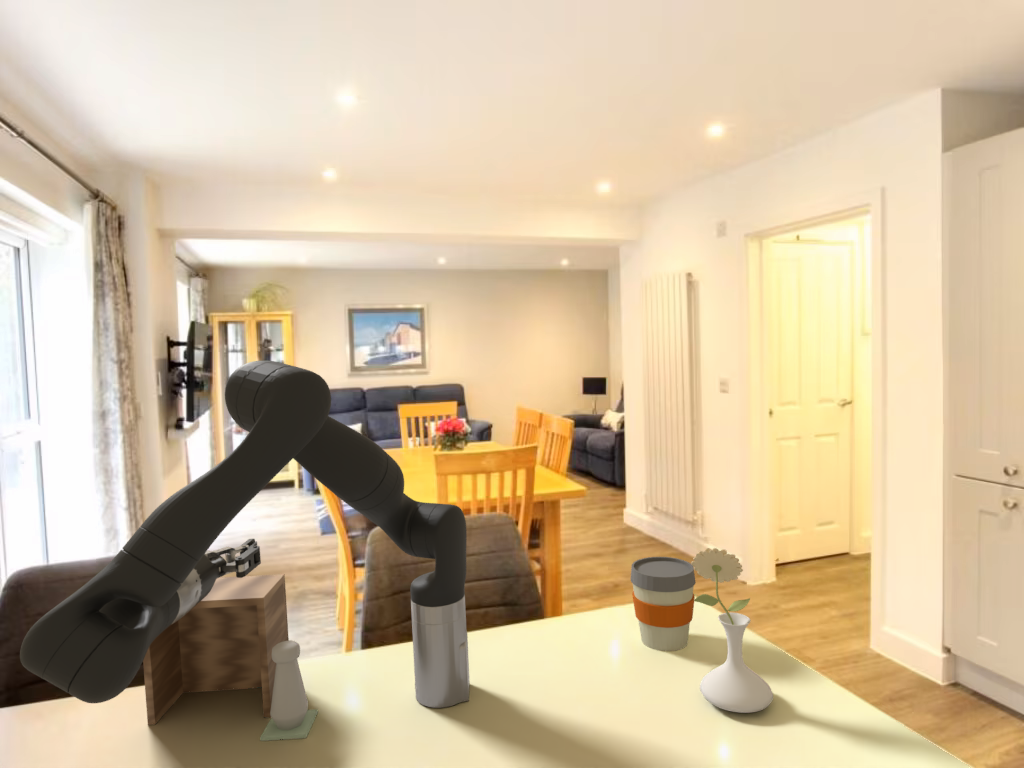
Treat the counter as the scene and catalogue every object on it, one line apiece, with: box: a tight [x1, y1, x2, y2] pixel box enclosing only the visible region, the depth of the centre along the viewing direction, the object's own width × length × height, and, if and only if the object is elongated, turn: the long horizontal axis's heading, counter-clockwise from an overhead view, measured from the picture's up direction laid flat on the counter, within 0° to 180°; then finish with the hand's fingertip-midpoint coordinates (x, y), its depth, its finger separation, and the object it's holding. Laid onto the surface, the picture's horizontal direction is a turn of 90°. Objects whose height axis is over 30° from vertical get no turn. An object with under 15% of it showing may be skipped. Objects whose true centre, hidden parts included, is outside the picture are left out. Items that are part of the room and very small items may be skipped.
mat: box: [259, 708, 319, 742], centre depth 104 cm, size 7×7×1 cm
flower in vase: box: [690, 547, 774, 714], centre depth 106 cm, size 13×11×25 cm
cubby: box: [142, 573, 290, 726], centre depth 111 cm, size 20×11×20 cm, turn 92°
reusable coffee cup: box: [630, 556, 696, 652], centre depth 128 cm, size 13×13×15 cm
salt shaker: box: [270, 639, 309, 730], centre depth 103 cm, size 6×6×13 cm
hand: (223, 546), depth 96 cm, fingers open, 8 cm apart
